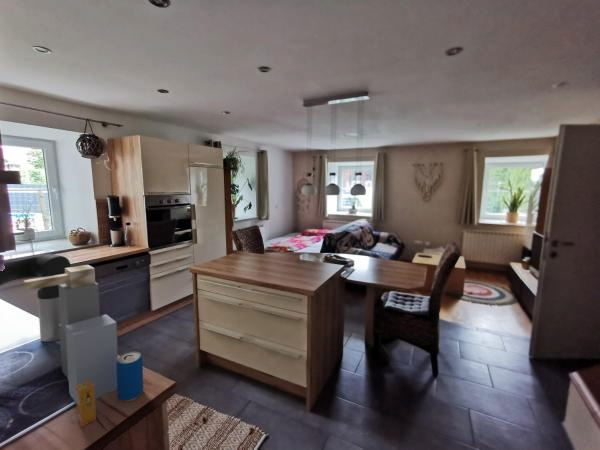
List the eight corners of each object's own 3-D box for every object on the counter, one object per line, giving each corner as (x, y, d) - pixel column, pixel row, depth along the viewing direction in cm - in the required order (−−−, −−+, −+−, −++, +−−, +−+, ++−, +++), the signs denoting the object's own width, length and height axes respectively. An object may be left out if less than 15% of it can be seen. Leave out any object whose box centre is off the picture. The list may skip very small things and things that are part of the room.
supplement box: (92, 413, 75) (90, 378, 73) (96, 419, 73) (95, 384, 71) (76, 420, 72) (74, 385, 71) (80, 428, 70) (79, 391, 69)
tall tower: (62, 370, 91) (56, 282, 87) (91, 359, 97) (87, 277, 93) (73, 387, 84) (68, 292, 80) (104, 374, 90) (100, 285, 86)
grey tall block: (69, 393, 81) (65, 325, 79) (108, 376, 89) (106, 314, 87) (78, 406, 76) (74, 335, 74) (118, 387, 84) (116, 322, 82)
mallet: (27, 297, 75) (26, 279, 75) (23, 291, 79) (21, 274, 78) (95, 283, 88) (94, 268, 87) (88, 279, 91) (88, 264, 91)
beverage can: (135, 384, 86) (134, 348, 85) (147, 392, 83) (147, 355, 81) (113, 397, 81) (111, 358, 79) (125, 406, 77) (123, 366, 76)
